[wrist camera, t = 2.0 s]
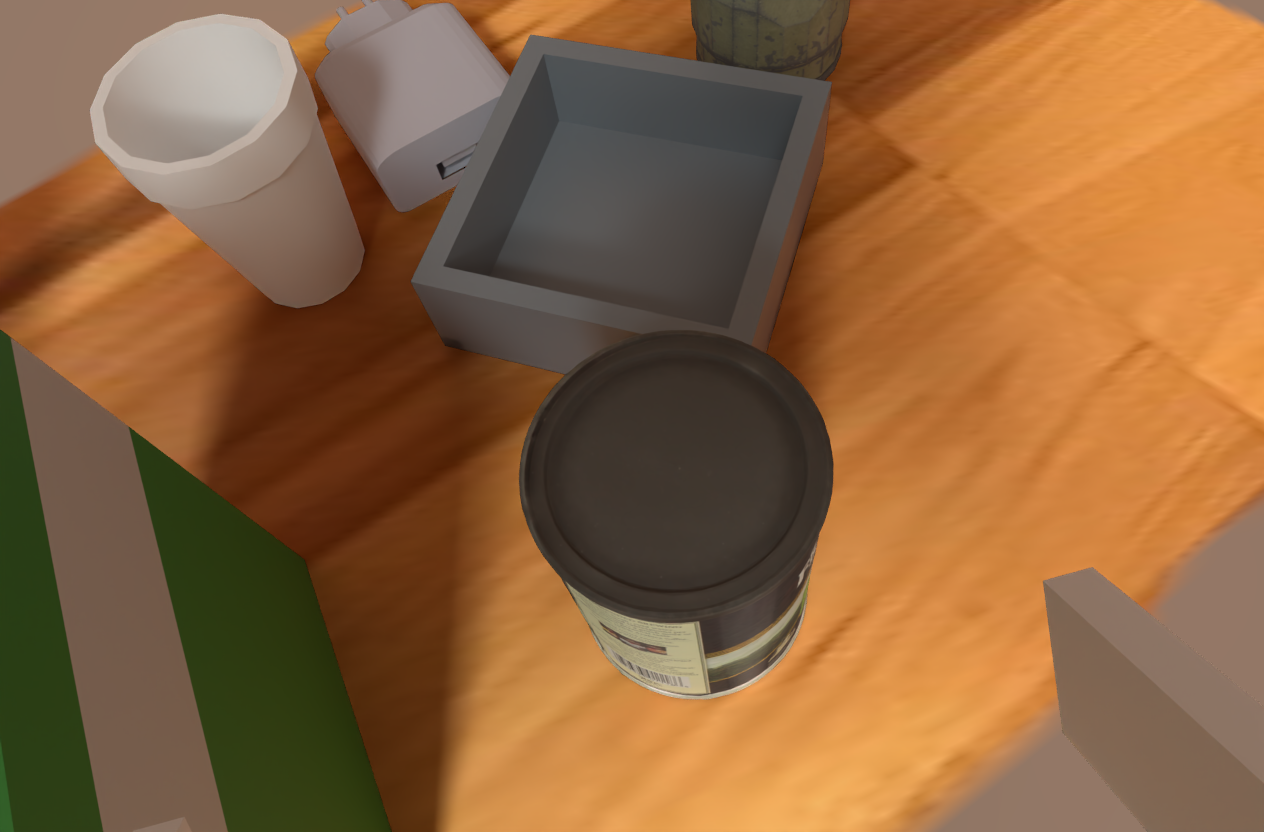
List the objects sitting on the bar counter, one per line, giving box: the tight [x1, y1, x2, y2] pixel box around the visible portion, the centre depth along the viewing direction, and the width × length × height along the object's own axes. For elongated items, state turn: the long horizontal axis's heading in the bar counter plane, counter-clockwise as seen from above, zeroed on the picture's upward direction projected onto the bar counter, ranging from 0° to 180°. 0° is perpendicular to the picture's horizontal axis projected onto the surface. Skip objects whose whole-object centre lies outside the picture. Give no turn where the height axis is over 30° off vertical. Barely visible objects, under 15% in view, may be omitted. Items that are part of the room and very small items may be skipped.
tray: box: [411, 35, 832, 374], centre depth 50 cm, size 16×16×6 cm
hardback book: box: [0, 330, 392, 832], centre depth 32 cm, size 18×7×24 cm, turn 25°
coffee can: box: [519, 330, 833, 699], centre depth 38 cm, size 10×10×14 cm
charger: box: [315, 0, 510, 212], centre depth 57 cm, size 5×9×15 cm
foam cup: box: [90, 14, 365, 308], centre depth 49 cm, size 10×9×13 cm
